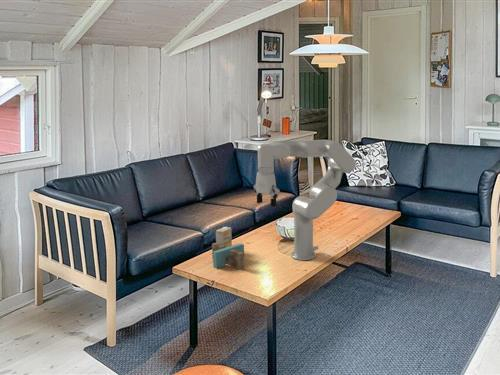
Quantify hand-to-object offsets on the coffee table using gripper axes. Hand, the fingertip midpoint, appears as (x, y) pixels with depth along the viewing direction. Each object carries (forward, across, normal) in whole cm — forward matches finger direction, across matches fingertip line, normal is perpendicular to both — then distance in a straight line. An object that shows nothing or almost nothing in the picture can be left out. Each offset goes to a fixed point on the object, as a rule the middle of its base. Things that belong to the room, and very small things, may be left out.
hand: (266, 204), depth 245 cm
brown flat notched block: (+30, -14, -14) cm, 36 cm away
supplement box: (+31, -28, -5) cm, 42 cm away
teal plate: (+30, -14, -13) cm, 36 cm away
